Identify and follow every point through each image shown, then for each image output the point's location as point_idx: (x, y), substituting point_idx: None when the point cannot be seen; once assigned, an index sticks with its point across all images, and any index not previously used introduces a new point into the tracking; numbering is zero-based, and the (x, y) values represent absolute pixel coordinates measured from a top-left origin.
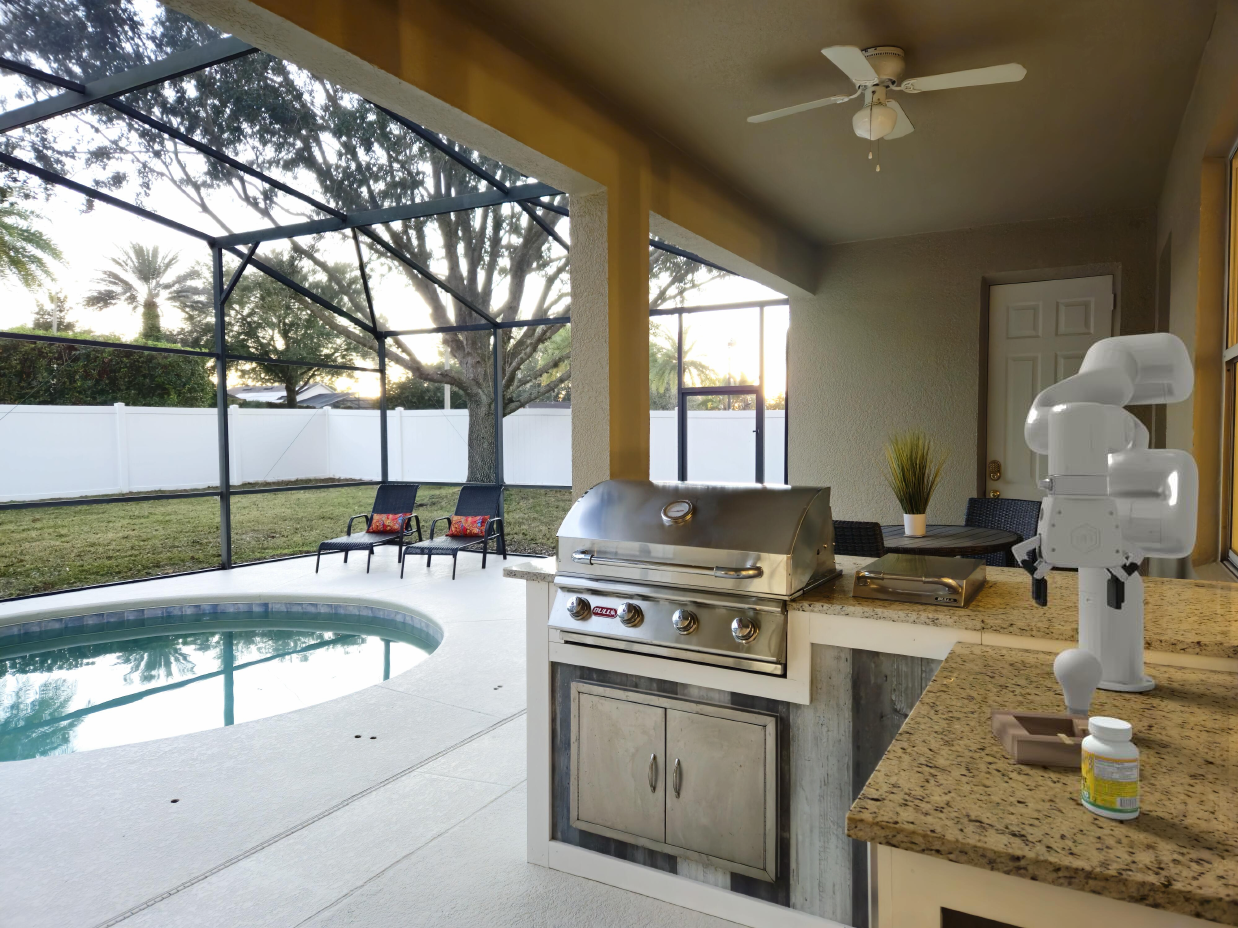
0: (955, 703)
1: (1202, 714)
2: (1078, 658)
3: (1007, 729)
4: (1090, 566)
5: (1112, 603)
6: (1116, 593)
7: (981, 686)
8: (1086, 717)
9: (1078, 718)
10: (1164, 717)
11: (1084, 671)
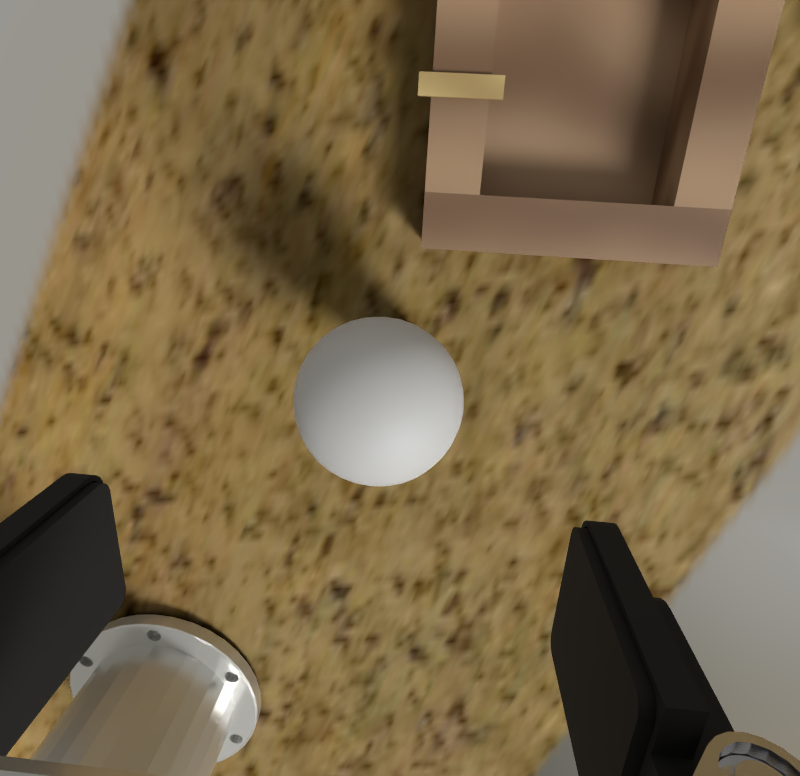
0: (670, 492)
1: (39, 465)
2: (392, 368)
3: (773, 38)
4: (93, 773)
5: (98, 540)
6: (20, 549)
7: (521, 636)
8: (423, 220)
9: (455, 205)
10: (139, 432)
11: (385, 326)
